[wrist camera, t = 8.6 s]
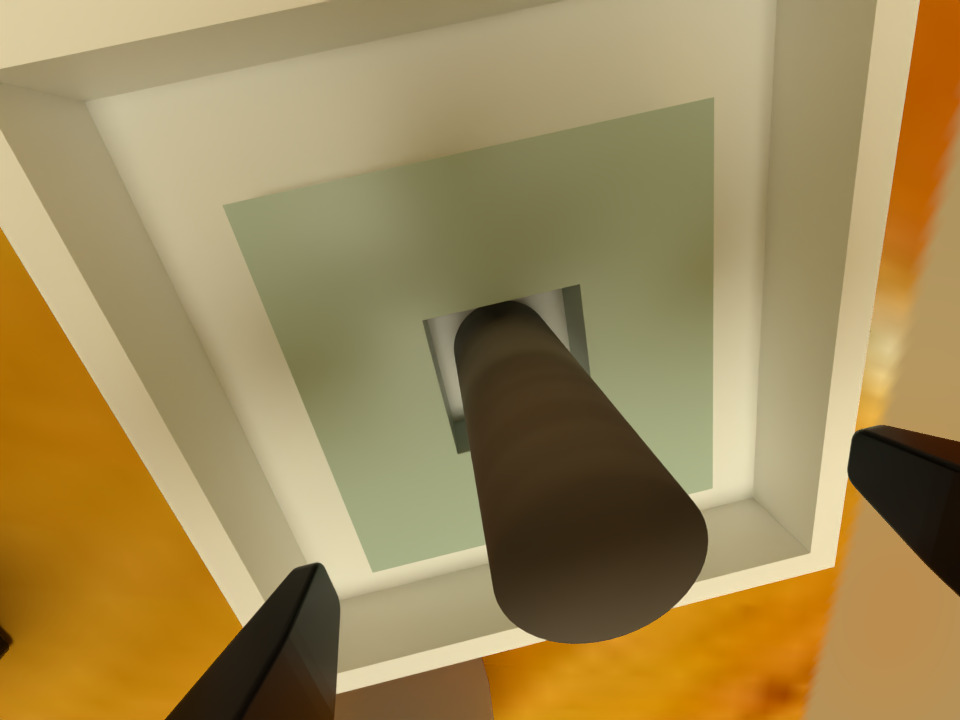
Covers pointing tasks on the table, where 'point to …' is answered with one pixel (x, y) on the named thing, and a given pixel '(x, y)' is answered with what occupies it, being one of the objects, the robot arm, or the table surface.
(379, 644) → the tray
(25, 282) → the table surface
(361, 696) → the cup
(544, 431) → the peg
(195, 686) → the robot arm
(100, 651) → the table surface
